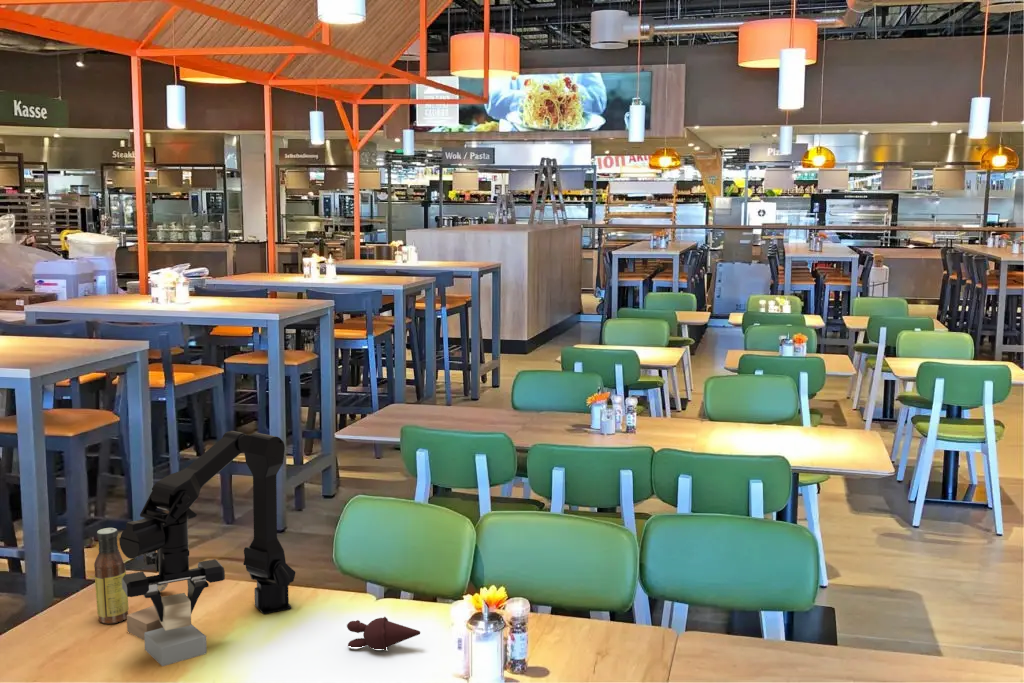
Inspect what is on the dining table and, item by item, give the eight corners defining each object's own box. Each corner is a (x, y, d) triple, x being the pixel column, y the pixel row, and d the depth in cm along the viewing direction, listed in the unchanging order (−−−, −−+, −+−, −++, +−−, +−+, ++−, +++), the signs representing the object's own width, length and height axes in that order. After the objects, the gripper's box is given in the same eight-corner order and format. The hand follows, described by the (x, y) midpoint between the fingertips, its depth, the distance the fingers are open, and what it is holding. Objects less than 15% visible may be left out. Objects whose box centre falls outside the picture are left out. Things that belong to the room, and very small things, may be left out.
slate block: (188, 639, 207) (187, 620, 207) (206, 655, 201) (206, 636, 200) (144, 651, 202) (144, 632, 201) (162, 667, 195) (161, 648, 194)
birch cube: (185, 616, 204) (184, 592, 203) (191, 625, 199) (190, 601, 199) (159, 621, 201) (158, 597, 200) (165, 630, 197) (164, 606, 196)
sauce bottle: (134, 614, 218) (131, 526, 215) (120, 626, 212) (117, 536, 209) (105, 612, 219) (102, 524, 216) (90, 624, 213) (87, 534, 210)
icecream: (421, 611, 208) (350, 615, 208) (416, 617, 200) (342, 621, 201) (423, 646, 207) (351, 649, 208) (418, 653, 200) (343, 657, 200)
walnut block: (156, 622, 215) (156, 604, 214) (176, 631, 211) (176, 613, 210) (127, 633, 209) (126, 615, 209) (147, 642, 205) (146, 624, 205)
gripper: (209, 524, 210) (211, 595, 212) (115, 538, 200) (118, 613, 202) (224, 540, 200) (226, 614, 202) (126, 556, 190) (129, 634, 193)
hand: (175, 618), depth 200 cm, fingers closed on birch cube, 5 cm apart
